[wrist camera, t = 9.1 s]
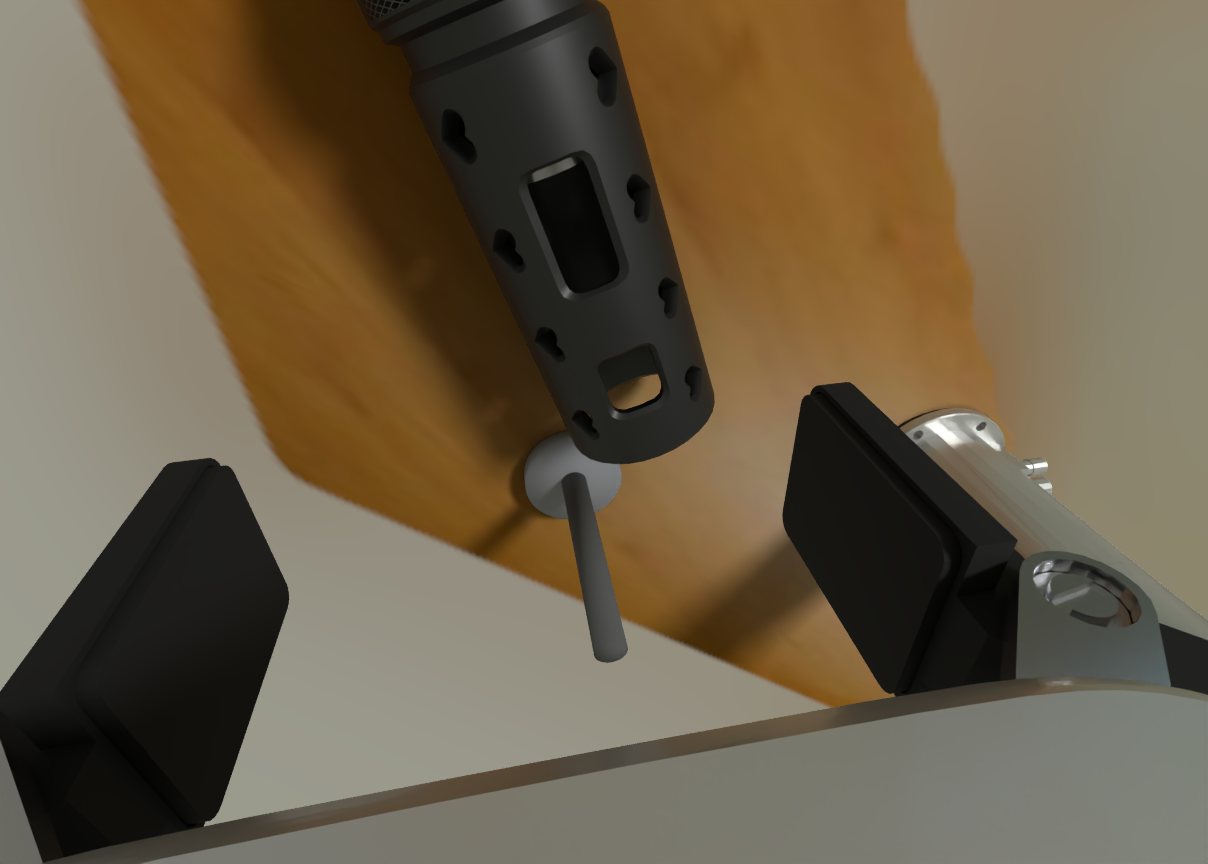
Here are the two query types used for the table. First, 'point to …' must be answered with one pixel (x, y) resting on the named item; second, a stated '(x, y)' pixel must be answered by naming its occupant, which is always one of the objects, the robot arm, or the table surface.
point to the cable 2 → (581, 527)
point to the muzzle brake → (561, 205)
